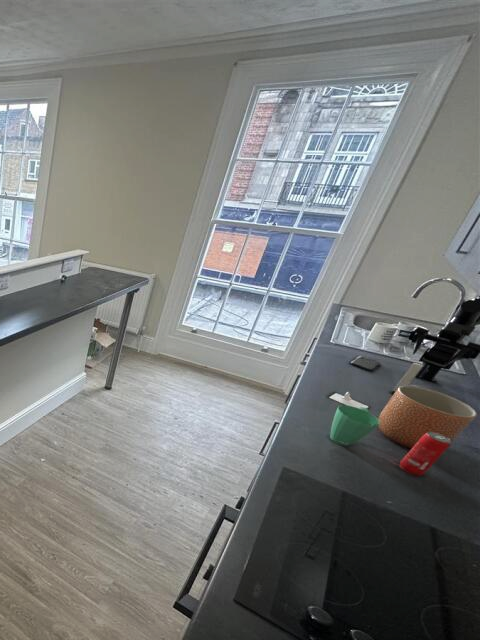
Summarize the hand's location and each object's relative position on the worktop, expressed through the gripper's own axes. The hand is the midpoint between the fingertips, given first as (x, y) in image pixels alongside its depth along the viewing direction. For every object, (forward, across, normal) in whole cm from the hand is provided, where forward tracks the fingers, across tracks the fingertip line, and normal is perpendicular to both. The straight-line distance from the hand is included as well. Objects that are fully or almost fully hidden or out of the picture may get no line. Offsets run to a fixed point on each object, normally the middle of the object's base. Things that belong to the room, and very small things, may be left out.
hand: (429, 358), depth 150 cm
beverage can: (+58, +16, -33) cm, 68 cm away
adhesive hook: (+36, -8, -13) cm, 39 cm away
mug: (+58, 0, -33) cm, 67 cm away
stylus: (+15, -1, +5) cm, 16 cm away
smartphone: (-1, -17, +20) cm, 26 cm away
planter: (+44, +10, -21) cm, 50 cm away
